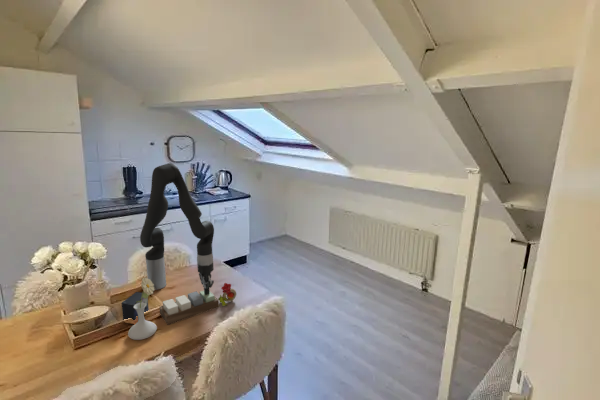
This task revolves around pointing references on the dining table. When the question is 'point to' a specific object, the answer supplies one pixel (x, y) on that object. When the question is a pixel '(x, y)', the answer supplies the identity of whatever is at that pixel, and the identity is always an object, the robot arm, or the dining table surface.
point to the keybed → (188, 311)
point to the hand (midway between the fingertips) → (206, 293)
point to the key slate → (195, 298)
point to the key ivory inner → (183, 302)
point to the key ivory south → (170, 307)
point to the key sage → (207, 296)
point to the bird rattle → (229, 292)
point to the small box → (129, 304)
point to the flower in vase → (142, 326)
